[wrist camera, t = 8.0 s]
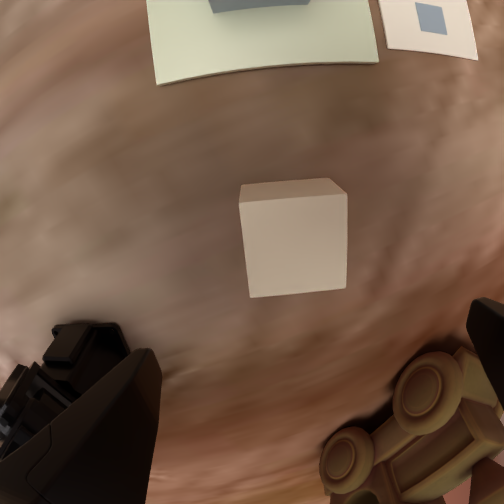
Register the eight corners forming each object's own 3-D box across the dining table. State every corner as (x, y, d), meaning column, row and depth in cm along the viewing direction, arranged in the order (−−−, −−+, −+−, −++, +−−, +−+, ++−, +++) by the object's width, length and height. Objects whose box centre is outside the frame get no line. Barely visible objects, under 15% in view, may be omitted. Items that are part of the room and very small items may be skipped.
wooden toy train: (372, 465, 32) (399, 576, 16) (299, 454, 29) (313, 592, 14) (494, 355, 25) (570, 474, 9) (436, 321, 22) (538, 491, 7)
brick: (329, 255, 20) (345, 288, 16) (250, 263, 20) (250, 297, 17) (327, 177, 18) (347, 193, 14) (241, 184, 18) (238, 202, 15)
